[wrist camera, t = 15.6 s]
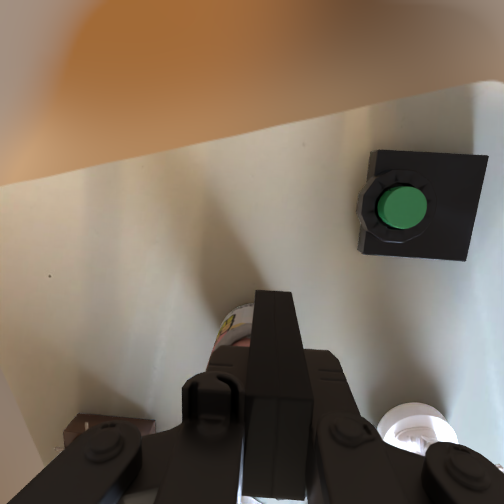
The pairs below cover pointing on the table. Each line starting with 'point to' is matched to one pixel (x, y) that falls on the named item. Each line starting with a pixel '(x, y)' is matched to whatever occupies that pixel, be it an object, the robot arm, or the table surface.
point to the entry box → (438, 204)
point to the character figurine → (416, 428)
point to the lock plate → (90, 420)
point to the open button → (402, 206)
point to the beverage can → (236, 328)
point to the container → (248, 500)
